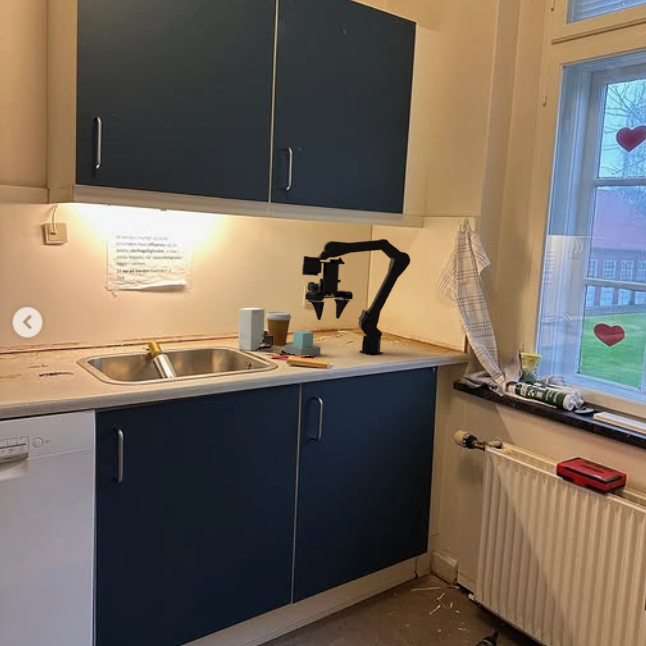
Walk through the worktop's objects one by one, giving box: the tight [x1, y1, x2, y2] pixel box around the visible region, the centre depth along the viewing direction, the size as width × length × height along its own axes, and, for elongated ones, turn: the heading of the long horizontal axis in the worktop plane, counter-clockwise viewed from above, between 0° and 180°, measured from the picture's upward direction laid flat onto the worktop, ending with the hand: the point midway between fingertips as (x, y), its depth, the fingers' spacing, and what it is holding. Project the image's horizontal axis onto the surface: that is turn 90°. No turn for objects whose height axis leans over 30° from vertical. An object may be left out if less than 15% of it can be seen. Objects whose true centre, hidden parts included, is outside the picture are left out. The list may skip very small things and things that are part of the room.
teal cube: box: [292, 330, 314, 348], centre depth 222 cm, size 5×5×5 cm
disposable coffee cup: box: [265, 311, 292, 347], centre depth 238 cm, size 10×10×12 cm
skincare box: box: [237, 307, 266, 352], centre depth 227 cm, size 8×6×15 cm
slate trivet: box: [283, 343, 321, 356], centre depth 223 cm, size 9×9×3 cm
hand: (328, 319), depth 228 cm, fingers open, 9 cm apart
